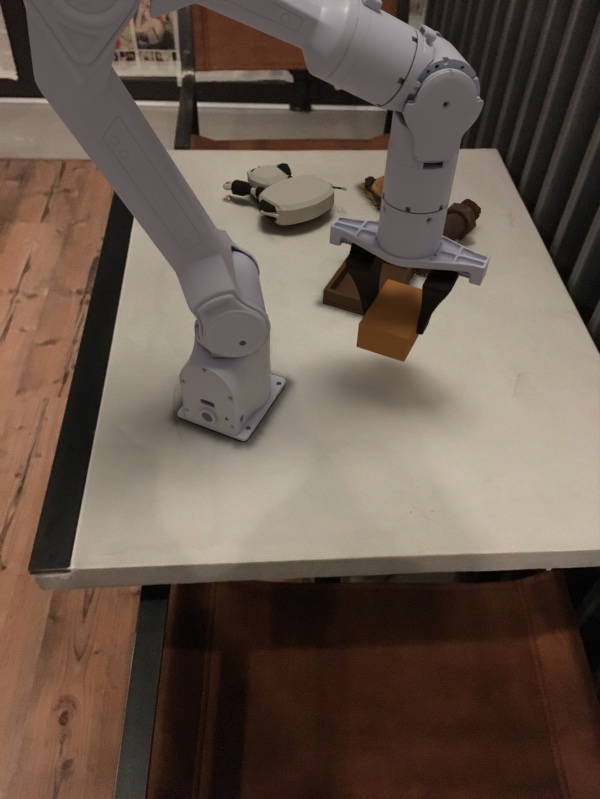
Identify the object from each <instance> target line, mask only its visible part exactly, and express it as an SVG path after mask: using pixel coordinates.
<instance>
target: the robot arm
mask: <svg viewBox="0 0 600 799" xmlns="http://www.w3.org/2000/svg"><path fill="white" fill-rule="evenodd" d="M22 1H23V5H24V8H25V15H26V22H27V32H28V38H29V47H30V57H31V64H32V74H33V77H34V82H35V84H36V86H37V88H38V90H39V92H40V93H41V95H42V96H43V98H45V100H46V102H48V104H49V106H50V107H51V108H52V109H53V110H54V112H55V113H56V115H57V116H58V117H59V119H60V120H61V121H62V123H63V124H64V125H65V127H66V128H67V130H68V131H69V132H70V133H71V135H72V137H73V138H74V139H75V140H76V141H77V143H78V145H79V146H80V147H81V148H82V149H83V151H84V152H85V153H86V155H87V156H88V158H89V159H90V161H91V162H92V163H93V164H94V166H95V168H97V170H98V171H99V172H100V174H101V175H102V176H103V177H104V179H105V180H106V182H107V183H108V184H109V185H110V187H111V188H112V189H113V191H114V192H115V193H116V195H117V196H118V198H119V199H120V200H121V201H122V203H123V204H124V205H125V207H126V208H127V209H128V211H129V212H130V214H131V215H132V216H133V218H134V219H135V220H136V222H137V223H138V224H139V225H140V226H141V228H142V230H143V231H144V232H145V233H146V235H147V236H148V238H149V239H150V240H151V242H152V243H153V244H154V246H155V247H156V248H157V250H158V251H159V252H160V254H161V255H162V256H163V258H164V259H165V261H166V262H167V263H168V264H169V266H170V267H171V268H172V270H173V272H175V275H176V277H177V280H178V282H179V285H180V288H181V291H182V294H183V296H184V299H185V302H186V304H187V307H188V309H189V311H190V313H191V314H192V315H193V317H194V318H195V321H194V325H193V326H194V327H193V329H194V342H193V347H192V350H191V353H190V355H189V358H188V359H187V361H186V362H185V364H184V365H183V367H182V368H181V370H180V372H179V385H180V393H181V399H182V405H181V406H180V408H179V409H178V410H177V417H178V418H181V419H182V420H185V421H188V422H190V423H193V424H196V425H199V426H201V427H204V428H206V429H210V430H212V431H215V432H217V433H220V434H223V435H225V436H228V437H230V438H233V439H236V440H239V441H242V442H245V441H248V440H249V438H250V437H251V435H252V434H253V432H255V430H256V428H257V426H258V425H259V424H260V422H261V420H262V419H263V418H264V416H265V415H266V414H267V412H268V410H269V409H270V408H271V405H272V404H273V403H274V401H275V400H276V398H277V397H278V396H279V394H280V393H281V391H282V390H283V388H284V387H285V386H286V382H287V381H286V379H285V378H284V377H282V376H279V375H276V374H274V373H271V321H270V317H269V315H268V313H267V310H266V305H265V300H264V295H263V289H262V284H261V280H260V273H261V272H260V267H259V263H258V260H257V259H256V257H255V256H254V255H253V254H252V253H251V252H249V251H248V250H246V249H245V248H243V247H241V246H239V245H238V244H236V243H235V242H234V241H233V239H232V238H231V237H230V235H229V234H228V232H227V231H226V229H225V230H224V229H219V228H217V226H216V225H215V223H214V221H213V220H212V218H211V217H210V215H209V214H208V212H207V211H206V209H205V207H204V206H203V204H202V203H201V202H200V200H199V199H198V197H197V195H196V194H195V192H194V191H193V189H192V188H191V186H190V185H189V183H188V181H187V179H186V178H185V177H184V175H183V174H182V172H181V171H180V169H179V167H178V166H177V164H176V163H175V162H174V159H173V158H172V157H171V155H170V154H169V152H168V151H167V149H166V147H165V146H164V144H163V143H162V141H161V140H160V138H159V137H158V135H157V134H156V132H155V131H154V129H153V127H152V126H151V124H150V122H149V121H148V119H147V118H146V116H145V115H144V113H143V112H142V110H141V108H140V107H139V106H138V104H137V103H136V101H135V99H134V98H133V96H132V95H131V93H130V92H129V91H128V88H126V85H125V84H124V82H123V81H122V79H121V78H120V76H119V75H118V73H117V72H116V70H115V68H114V67H113V62H114V58H115V53H116V47H117V41H118V40H119V39H120V37H121V36H122V35H123V33H124V31H125V30H126V28H127V27H128V25H129V24H130V22H131V21H132V19H133V17H134V16H135V14H136V13H137V11H138V8H139V6H140V4H141V2H142V0H22ZM190 5H198V6H201V7H204V8H206V9H208V10H211V11H213V12H215V13H218V14H220V15H222V16H225V17H226V18H229V19H232V20H234V21H235V22H238V23H240V24H243V25H245V26H247V27H250V28H252V29H255V30H257V31H258V32H259V31H260V32H261V33H264V34H267V35H269V36H272V37H273V38H275V39H277V40H280V41H283V42H285V43H286V44H289V45H291V46H293V47H296V48H299V49H301V52H302V55H303V59H304V63H305V66H306V69H307V71H308V73H309V74H310V75H312V76H313V77H315V78H317V79H320V80H321V81H323V82H325V83H328V84H329V85H331V86H334V87H336V88H338V89H340V90H342V91H344V92H347V93H348V94H351V95H353V96H354V97H357V98H359V99H361V100H363V101H365V102H367V103H370V104H372V105H374V106H376V107H377V108H380V109H382V110H387V111H392V117H391V126H390V132H389V139H388V144H387V149H386V150H387V151H386V160H385V168H384V175H383V176H384V184H383V192H382V200H381V208H379V217H378V220H375V219H374V220H373V219H358V218H350V217H345V216H341V215H339V216H337V218H336V219H335V220H334V221H333V223H332V224H331V225H330V230H329V244H330V245H333V246H337V247H340V246H342V245H343V244H345V245H348V246H350V250H349V253H348V255H347V256H348V257H347V256H346V258H345V259H346V260H345V259H344V261H345V266H346V269H347V271H348V272H349V274H350V275H351V277H352V279H353V281H354V283H355V285H356V288H357V290H358V294H359V297H360V301H361V306H362V312H363V315H362V318H363V317H364V315H365V314H366V312H367V310H368V309H369V307H370V306H371V304H372V303H373V301H374V300H375V298H376V297H377V295H378V294H379V283H380V274H381V269H382V265H383V260H385V261H387V262H389V263H391V264H394V265H397V266H402V267H410V268H423V269H432V270H431V272H430V273H429V275H428V274H427V276H426V278H425V280H424V281H423V283H422V286H421V289H422V303H421V311H420V315H419V318H418V322H417V330H416V333H417V334H419V336H422V335H424V333H425V332H426V329H427V327H428V326H429V323H430V320H431V318H432V316H433V313H434V312H435V311H436V309H437V308H438V306H439V305H440V304H441V303H442V302H443V301H444V300H445V299H446V298H447V297H448V296H449V295H450V293H451V291H452V290H453V288H454V286H455V285H456V284H457V282H458V279H459V277H463V278H466V279H468V283H469V284H472V285H475V286H478V287H479V286H481V285H482V283H483V281H484V279H485V276H486V275H487V270H488V268H489V263H490V259H491V256H489V255H486V254H482V253H480V252H478V251H476V250H475V251H474V250H472V249H470V248H468V247H467V246H465V245H463V244H460V243H459V242H456V240H455V241H453V240H451V239H449V238H447V237H445V236H443V230H444V225H445V220H446V215H447V210H448V208H449V206H450V205H449V204H450V200H451V195H452V189H453V185H454V180H455V175H456V169H457V164H458V161H459V154H460V147H461V144H462V139H463V136H464V135H465V134H466V132H467V131H469V129H470V128H471V127H472V126H473V125H474V124H475V122H476V121H477V120H478V118H479V116H480V114H481V112H482V110H483V107H484V104H485V101H484V99H482V98H481V97H480V96H481V85H480V84H481V83H480V79H479V77H477V72H476V71H475V70H474V68H473V67H472V66H471V64H469V63H468V62H467V60H466V59H465V58H464V57H463V56H462V54H461V53H460V52H459V51H458V49H456V47H455V46H454V45H453V44H452V43H451V42H450V41H448V40H447V39H445V38H444V37H443V36H442V34H441V33H440V31H437V30H433V29H432V28H431V27H429V26H427V25H426V24H423V23H422V24H421V25H420V26H419V28H416V27H414V26H412V25H410V24H409V23H406V22H404V21H403V20H401V19H399V18H397V17H396V16H393V15H392V14H390V13H388V12H386V11H385V10H382V9H381V8H382V6H383V1H382V0H149V10H150V12H149V13H150V18H151V19H154V18H155V19H157V18H159V17H162V16H165V15H167V14H170V13H172V12H175V11H177V10H180V9H183V8H186V7H188V6H190Z"/></svg>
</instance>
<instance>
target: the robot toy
mask: <svg viewBox="0 0 600 799" xmlns="http://www.w3.org/2000/svg"><path fill="white" fill-rule="evenodd" d="M246 175H247V177H246V178H247V181H246V180H241V179H233V181H232V180H227V181H225V182H224V183H223V184H222V188H223V190H225V191H227V192H228V191H231V194H232V195H233V196H237V197H238V196H240V197H246V196H249V195H252V196H253V197H254V198H255V199H256V200H258V202H257V204H258V213H259V215H260V216H262V217H264V218H266V219H267V220H269V221H271V222H273V223H274V224H277V225H280V226H290V225H296V224H301V223H304V222H308V221H312V220H315V219H317V218H319V216H321V215H323V214H326V212H328V211H329V210H330V209H331V208H333V207H334V204H335V190H342V191H347V190H348V187H347V186H339V185H338V186H337V185H333V184H332V183H331V182H328V181H326V180H325V179H323V178H320V177H318V176H316V175H309V174H307V175H306V174H302V175H297V176H292V170H291V168H290V165H289V164H288V163H285V162H282V163H276V164H271V165H269V164H268V165H266V164H265V165H258V166H257V167H254V168H253V169H248V170H247V171H246Z"/></svg>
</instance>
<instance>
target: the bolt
mask: <svg viewBox="0 0 600 799" xmlns="http://www.w3.org/2000/svg"><path fill="white" fill-rule="evenodd" d="M480 214H482V208H481V206H479V205H478V204H477V202H475V201H473V200H472V199H470V198H465V199H463V200H462V201H461V202H452V204H450V205H449V206H448V210H447V215H446V220H445V225H444V230H443V236H445V237H447V238H449V239H451V240H453V241H455V242H456V241H463V240H464V238H465V237H467V235H469V234H470V233H471V232H472V231H473V230H474V229H476V227H477V220H478V219H479V218H480V216H481V215H480ZM431 270H432V269H423V268H415V272H416V273H420V274H423V275H427V276H428V275H429V273H430V272H431Z"/></svg>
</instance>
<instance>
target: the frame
mask: <svg viewBox="0 0 600 799" xmlns="http://www.w3.org/2000/svg"><path fill="white" fill-rule="evenodd" d="M347 257H348V255H347V256H346V258H347ZM346 258H345V259H344V260H343V262H342V263H341V265H340V266H339V267H338V269H337V270H336V272H335V273H334V274H333V276H332V277H331V278H330V280H329V281H328V283H327V284H326V285H325V286H324V288H323V290H322V303H323V304H325V305H329V306H333V307H336V308H339V309H342V310H346V311H349V312H352V313H356V314H359V315H362V316H363V312H362V306H361V301H360V297H359V294H358V290H357V288H356V285H355V283H354V281H353V279H352V277H351V275H350V274H349V272H348V271H347V269H346V266H345V260H346ZM415 273H416V271H415V268H410V267H402V266H397V265H394V264H391V263H389V262H387V261H385V260H383V265H382V269H381V274H380V283H379V292H380V291H381V289H382V287H383V286H384V284H385V283H386V281H387V280H388V279H389V280H393V281H396V282H400V283H403V284H406V285H409V284H410V282H411V280H412V278H413V277H414V275H415Z"/></svg>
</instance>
